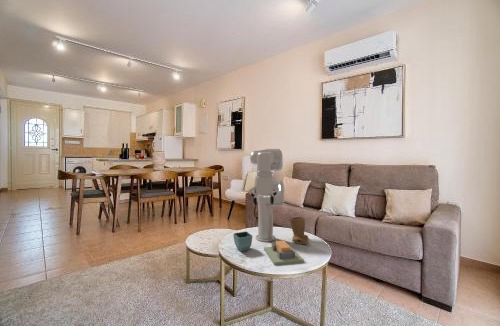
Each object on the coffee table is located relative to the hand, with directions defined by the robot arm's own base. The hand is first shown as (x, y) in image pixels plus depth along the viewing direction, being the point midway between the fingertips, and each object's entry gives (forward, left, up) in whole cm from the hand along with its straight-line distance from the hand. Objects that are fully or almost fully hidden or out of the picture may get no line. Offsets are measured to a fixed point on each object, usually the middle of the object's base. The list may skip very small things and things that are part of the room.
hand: (263, 204), depth 143 cm
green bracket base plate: (+8, +9, -27) cm, 30 cm away
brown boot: (-12, +27, -28) cm, 41 cm away
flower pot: (-5, -11, -28) cm, 30 cm away
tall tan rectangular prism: (+8, +9, -26) cm, 29 cm away
